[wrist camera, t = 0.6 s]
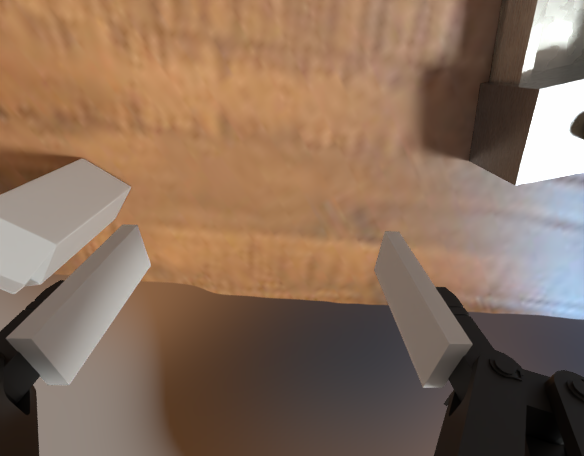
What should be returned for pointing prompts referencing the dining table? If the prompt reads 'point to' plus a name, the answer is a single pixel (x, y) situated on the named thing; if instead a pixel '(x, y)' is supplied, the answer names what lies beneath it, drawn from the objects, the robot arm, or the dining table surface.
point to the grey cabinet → (533, 94)
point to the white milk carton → (54, 220)
